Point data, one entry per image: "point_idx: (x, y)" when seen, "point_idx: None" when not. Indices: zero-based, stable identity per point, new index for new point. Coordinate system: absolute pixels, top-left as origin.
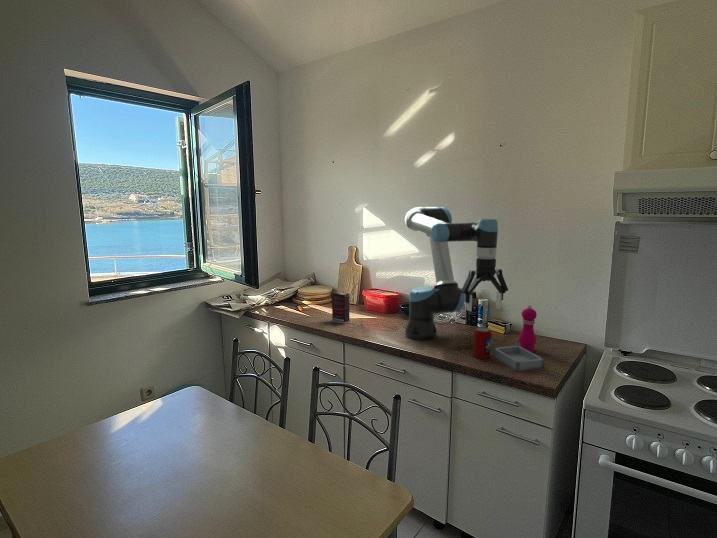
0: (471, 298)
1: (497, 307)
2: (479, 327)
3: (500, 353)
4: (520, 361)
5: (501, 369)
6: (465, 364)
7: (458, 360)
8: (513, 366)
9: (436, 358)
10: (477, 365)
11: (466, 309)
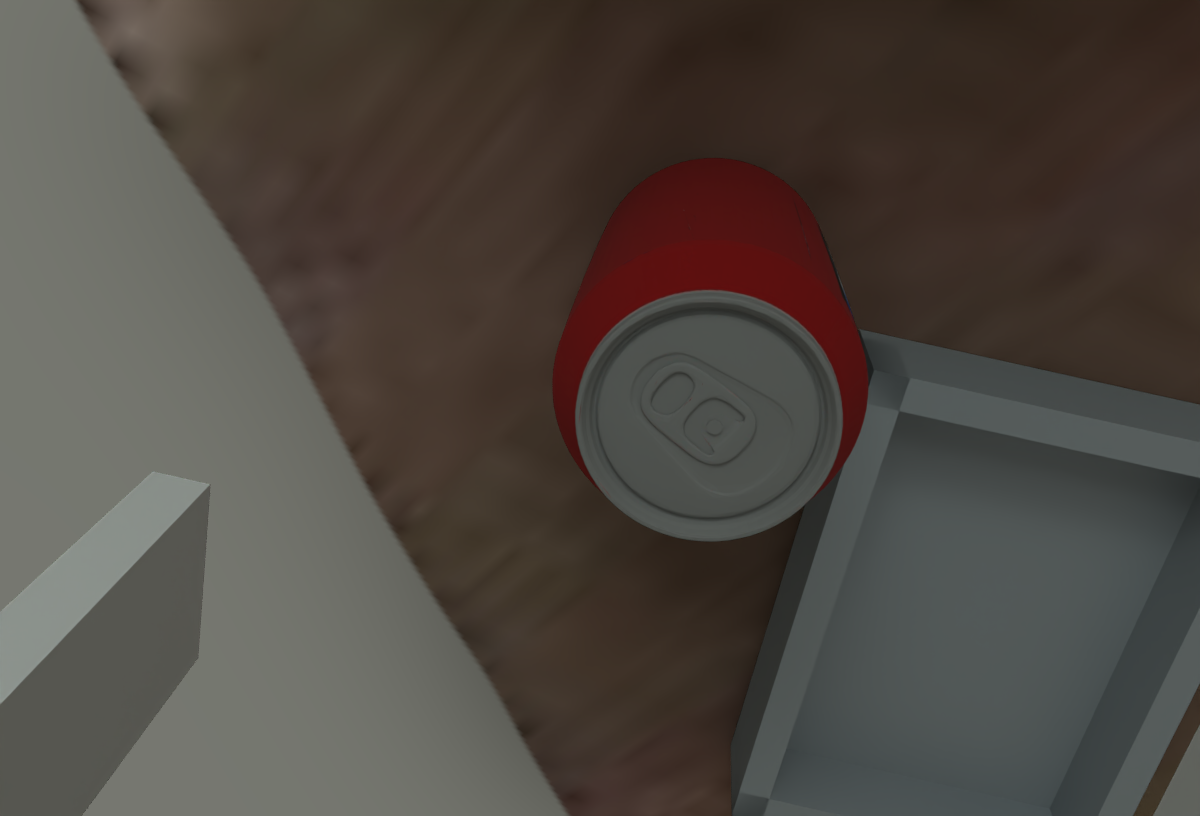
0: None
1: (1178, 798)
2: (727, 305)
3: (821, 519)
4: (788, 809)
5: (621, 640)
6: (339, 358)
7: (334, 219)
8: (748, 707)
9: (91, 17)
10: (453, 446)
11: (149, 477)
